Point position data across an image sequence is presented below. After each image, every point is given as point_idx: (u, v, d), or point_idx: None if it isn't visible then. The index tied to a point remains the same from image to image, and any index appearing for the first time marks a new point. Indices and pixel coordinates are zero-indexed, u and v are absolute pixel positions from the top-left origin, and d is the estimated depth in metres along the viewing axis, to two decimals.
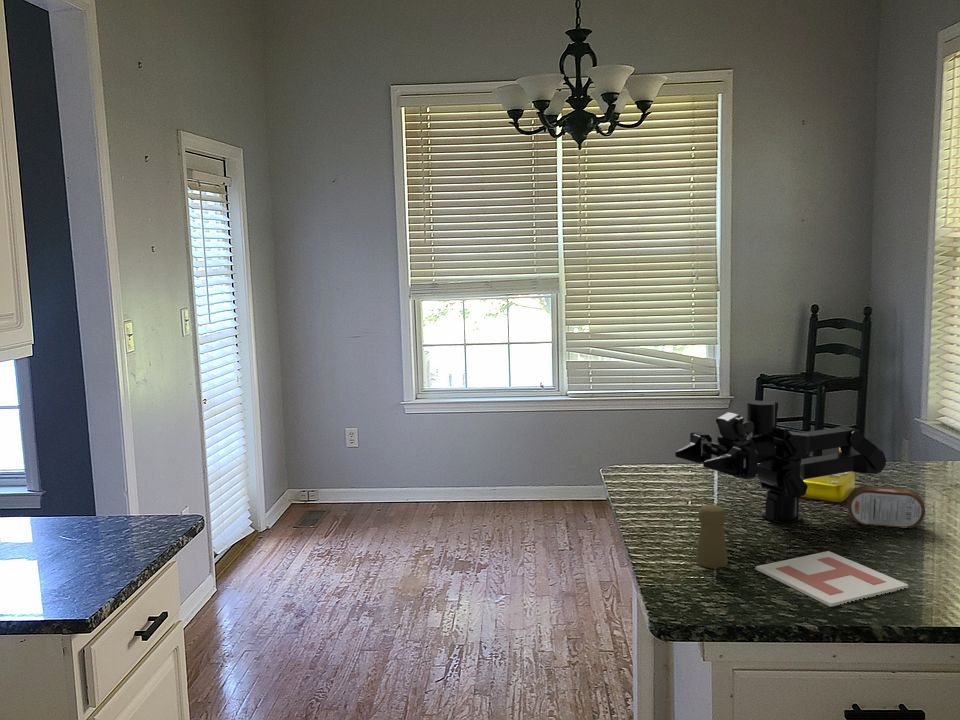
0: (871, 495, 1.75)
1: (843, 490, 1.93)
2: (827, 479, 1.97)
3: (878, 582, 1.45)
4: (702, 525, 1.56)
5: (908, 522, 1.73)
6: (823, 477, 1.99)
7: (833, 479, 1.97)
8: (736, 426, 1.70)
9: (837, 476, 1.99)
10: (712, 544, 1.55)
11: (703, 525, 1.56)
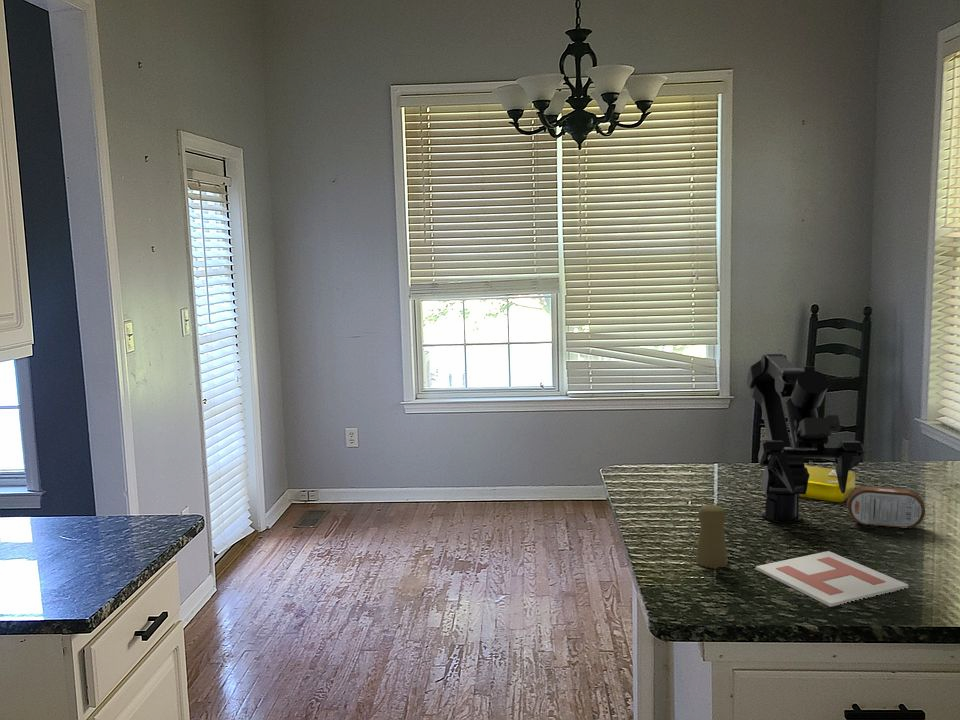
0: (871, 495, 1.75)
1: None
2: (827, 479, 1.97)
3: (878, 582, 1.45)
4: (702, 525, 1.56)
5: (908, 522, 1.73)
6: (823, 477, 1.99)
7: (834, 479, 1.97)
8: (831, 430, 1.56)
9: None
10: (712, 544, 1.55)
11: (703, 525, 1.56)
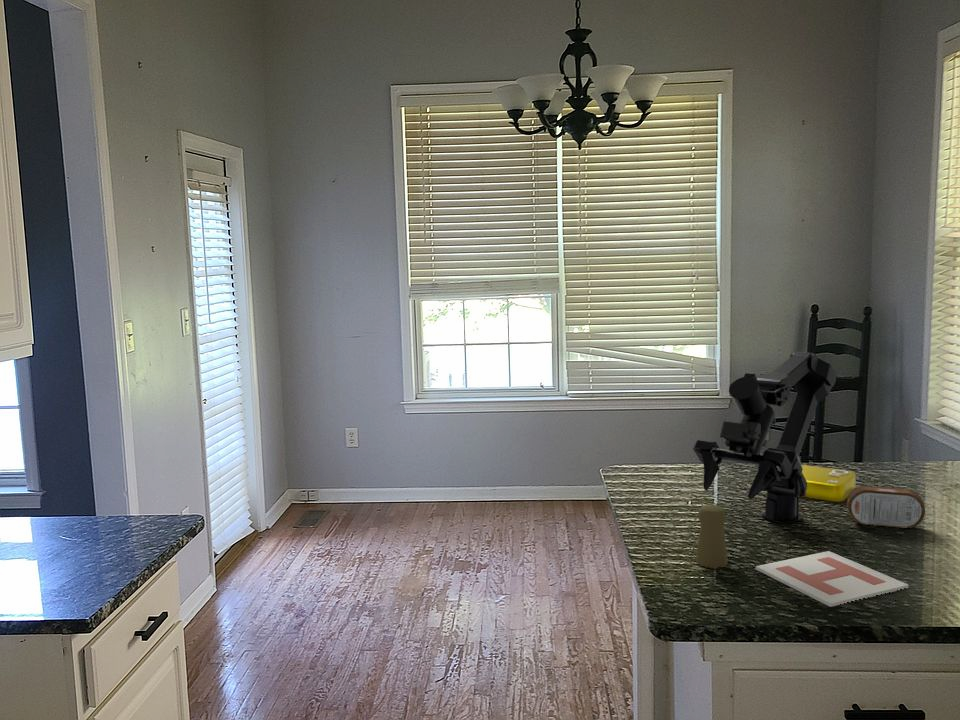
0: (871, 495, 1.75)
1: (843, 490, 1.93)
2: (827, 479, 1.98)
3: (878, 582, 1.45)
4: (702, 525, 1.56)
5: (908, 522, 1.73)
6: (823, 477, 1.99)
7: (834, 479, 1.98)
8: (747, 436, 1.59)
9: (837, 476, 1.99)
10: (712, 544, 1.55)
11: (703, 525, 1.56)
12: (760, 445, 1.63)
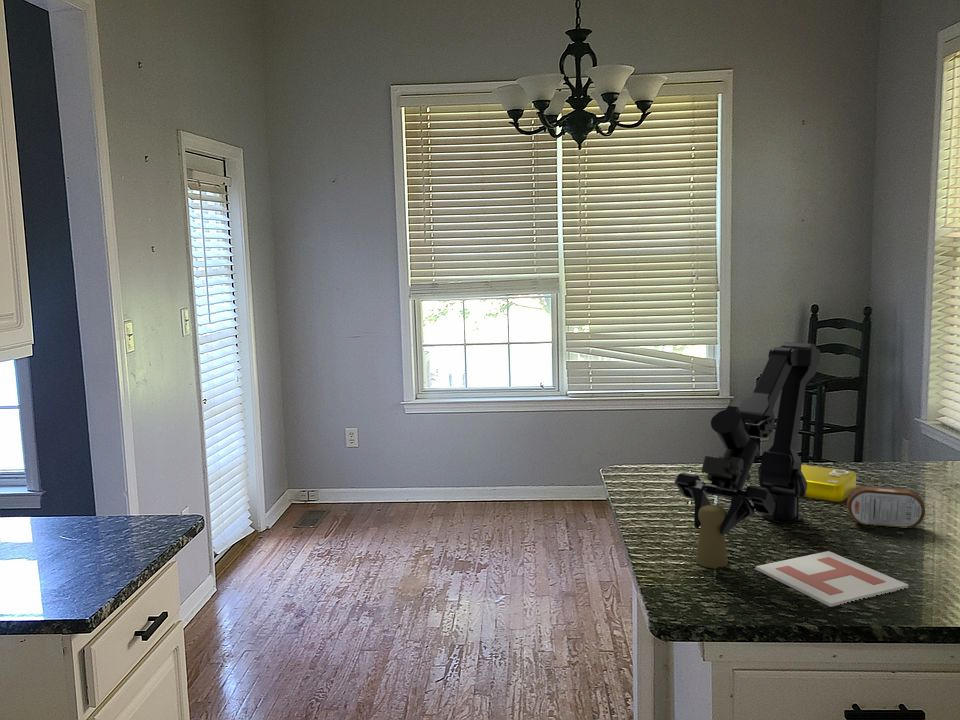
0: (871, 495, 1.75)
1: (843, 490, 1.93)
2: (827, 479, 1.98)
3: (878, 582, 1.45)
4: (702, 525, 1.56)
5: (908, 522, 1.73)
6: (823, 477, 2.00)
7: (834, 479, 1.98)
8: (729, 472, 1.54)
9: (838, 476, 1.99)
10: (712, 544, 1.55)
11: (703, 525, 1.56)
12: (743, 480, 1.59)
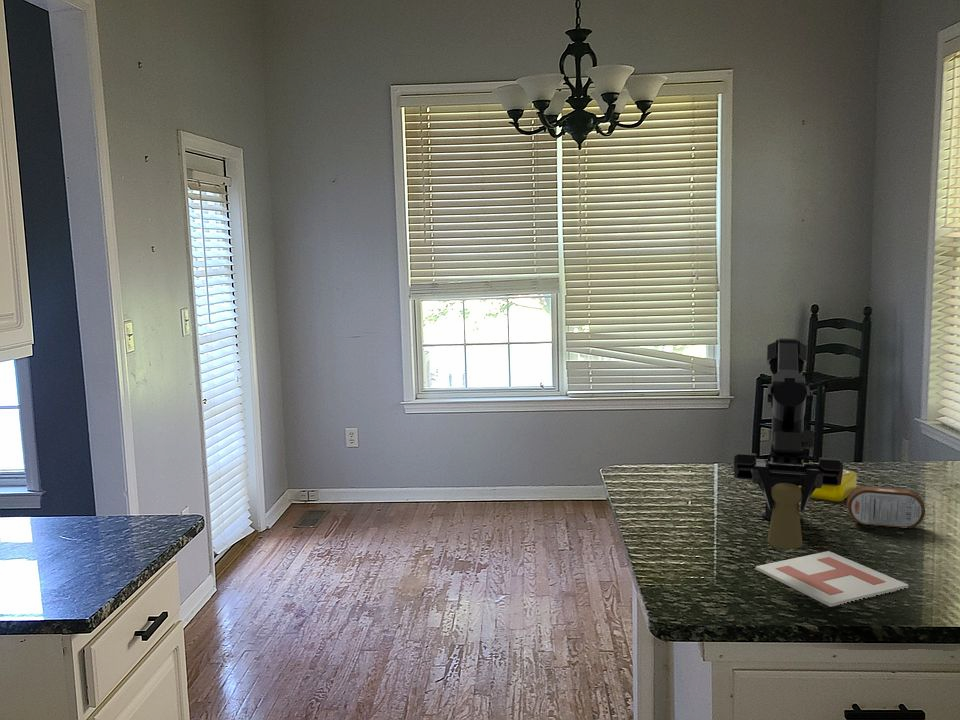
0: (871, 495, 1.75)
1: (842, 489, 1.93)
2: None
3: (878, 582, 1.45)
4: (779, 505, 1.48)
5: (908, 522, 1.73)
6: None
7: None
8: (804, 446, 1.48)
9: None
10: (793, 523, 1.47)
11: (781, 505, 1.48)
12: None
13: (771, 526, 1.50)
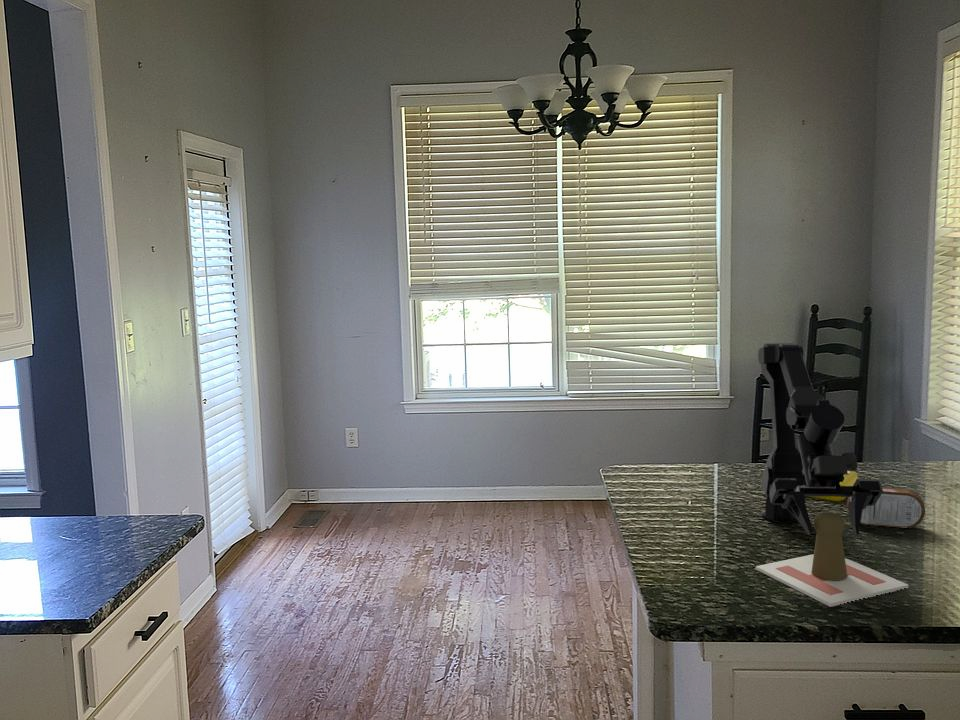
0: None
1: None
2: None
3: (878, 582, 1.45)
4: (825, 536, 1.47)
5: (908, 522, 1.73)
6: None
7: None
8: (848, 469, 1.47)
9: None
10: (840, 553, 1.46)
11: (827, 536, 1.46)
12: None
13: (817, 558, 1.48)
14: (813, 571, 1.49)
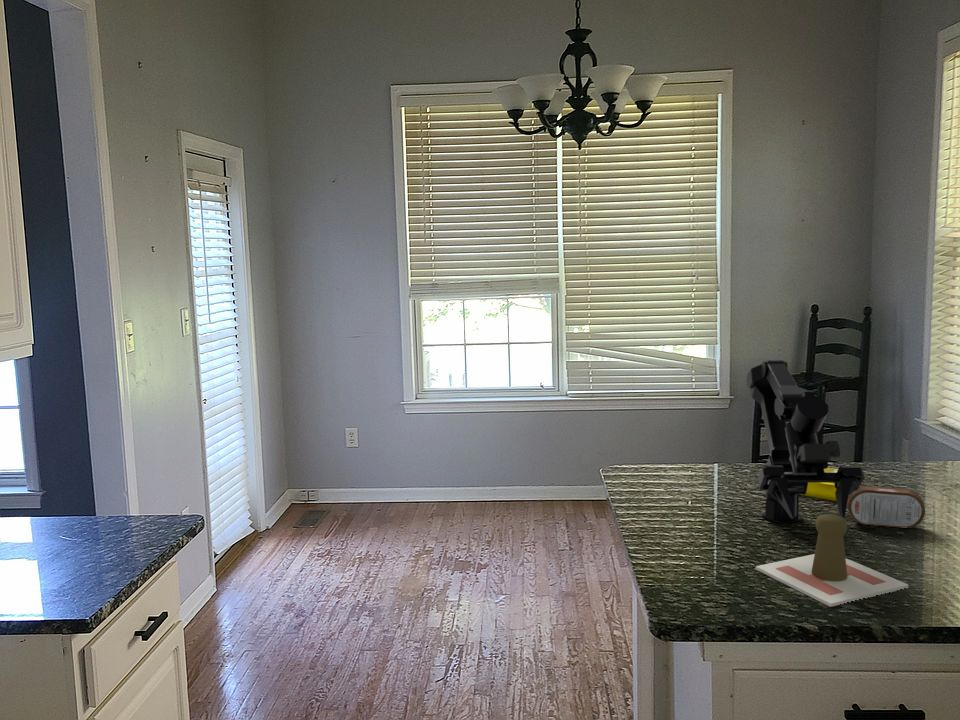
0: (871, 495, 1.75)
1: None
2: None
3: (878, 582, 1.45)
4: (827, 537, 1.46)
5: (908, 522, 1.73)
6: None
7: None
8: (831, 456, 1.56)
9: None
10: (841, 555, 1.46)
11: (829, 537, 1.46)
12: None
13: (817, 559, 1.48)
14: (813, 571, 1.49)
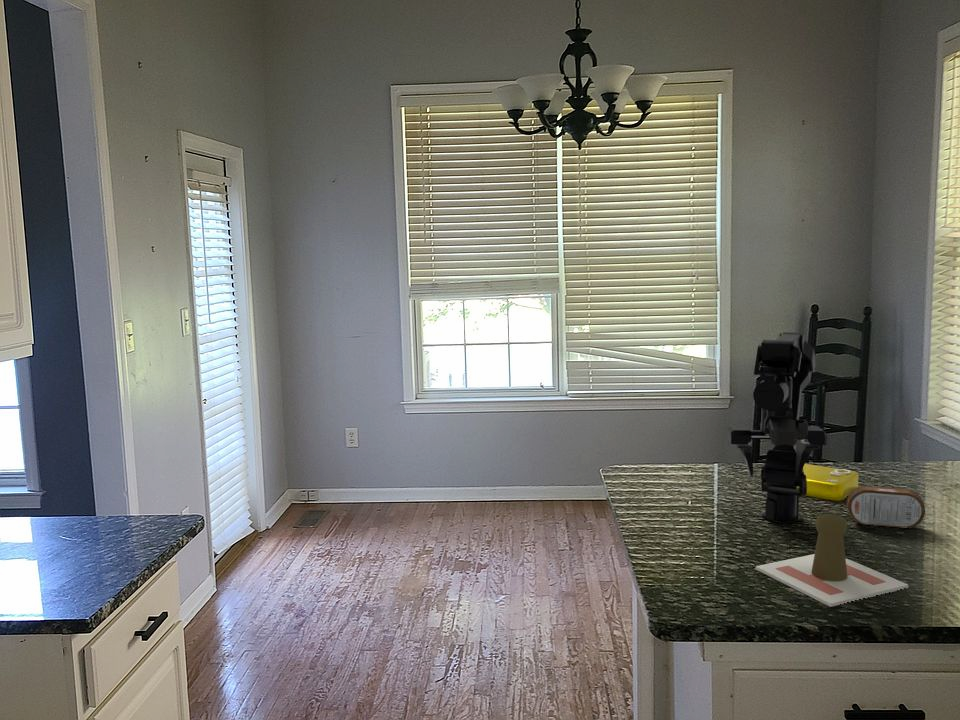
0: (871, 495, 1.75)
1: (842, 489, 1.94)
2: (827, 478, 1.98)
3: (878, 582, 1.45)
4: (827, 537, 1.46)
5: (908, 522, 1.73)
6: (824, 476, 2.00)
7: (834, 478, 1.98)
8: None
9: (838, 475, 2.00)
10: (841, 555, 1.46)
11: (829, 537, 1.46)
12: None
13: (817, 559, 1.48)
14: (813, 571, 1.49)
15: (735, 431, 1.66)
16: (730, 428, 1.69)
